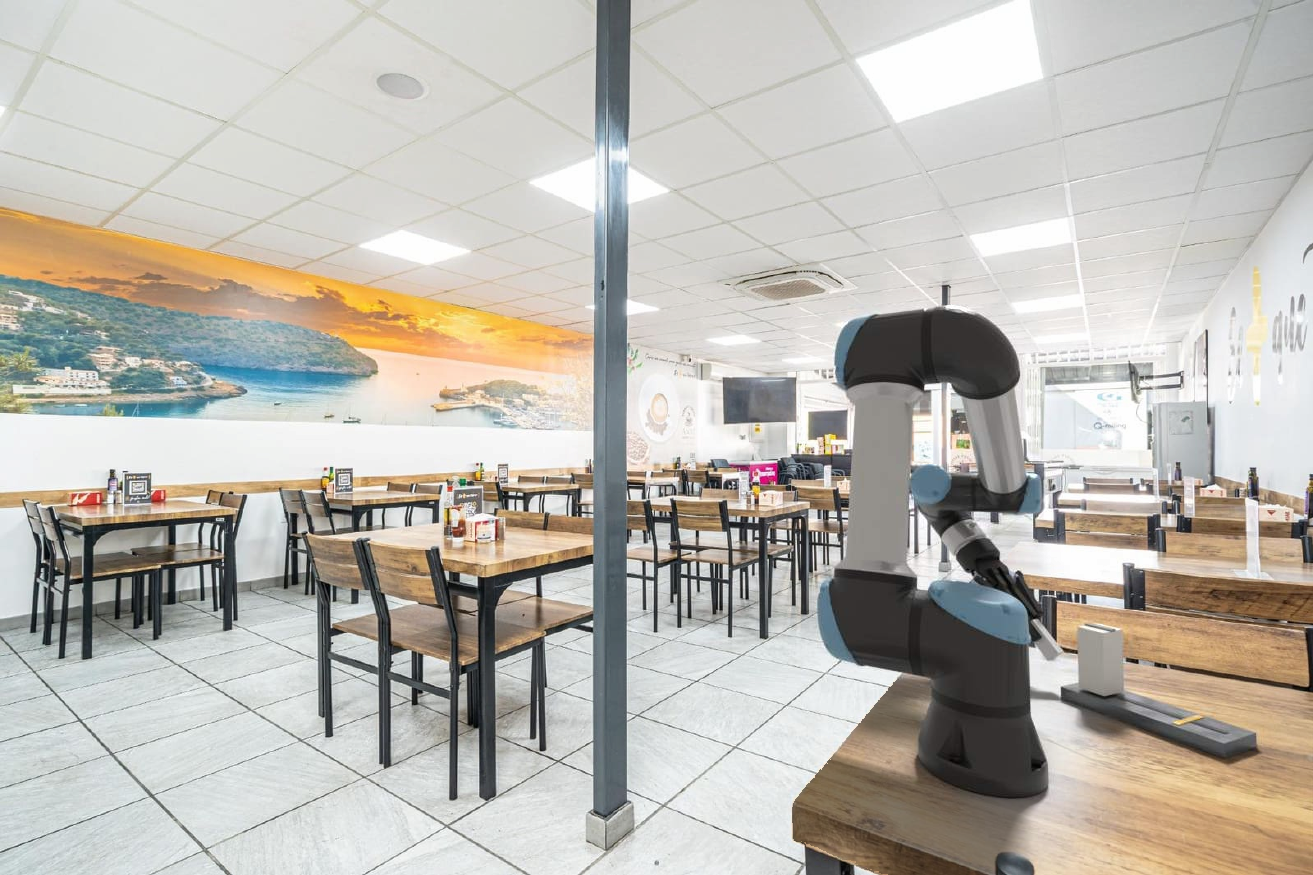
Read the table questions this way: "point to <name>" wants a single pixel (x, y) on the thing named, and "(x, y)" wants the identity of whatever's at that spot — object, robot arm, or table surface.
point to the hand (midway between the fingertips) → (1055, 656)
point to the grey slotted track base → (1166, 720)
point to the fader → (1100, 659)
